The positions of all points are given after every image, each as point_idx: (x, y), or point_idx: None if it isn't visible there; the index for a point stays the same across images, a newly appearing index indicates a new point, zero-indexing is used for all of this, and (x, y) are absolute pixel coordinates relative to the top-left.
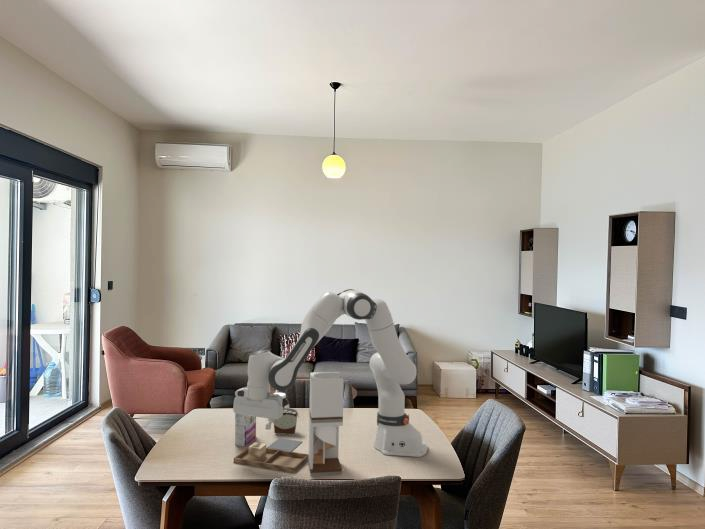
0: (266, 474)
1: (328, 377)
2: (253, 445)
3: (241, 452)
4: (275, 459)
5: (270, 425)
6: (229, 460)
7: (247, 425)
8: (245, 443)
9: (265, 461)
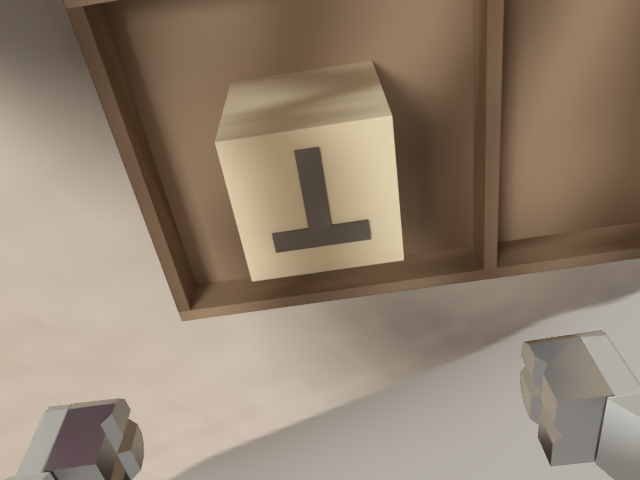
0: (545, 298)
1: None
2: (277, 235)
3: (140, 207)
4: (505, 69)
5: (627, 390)
6: (104, 259)
7: (139, 456)
8: None
9: (492, 249)
